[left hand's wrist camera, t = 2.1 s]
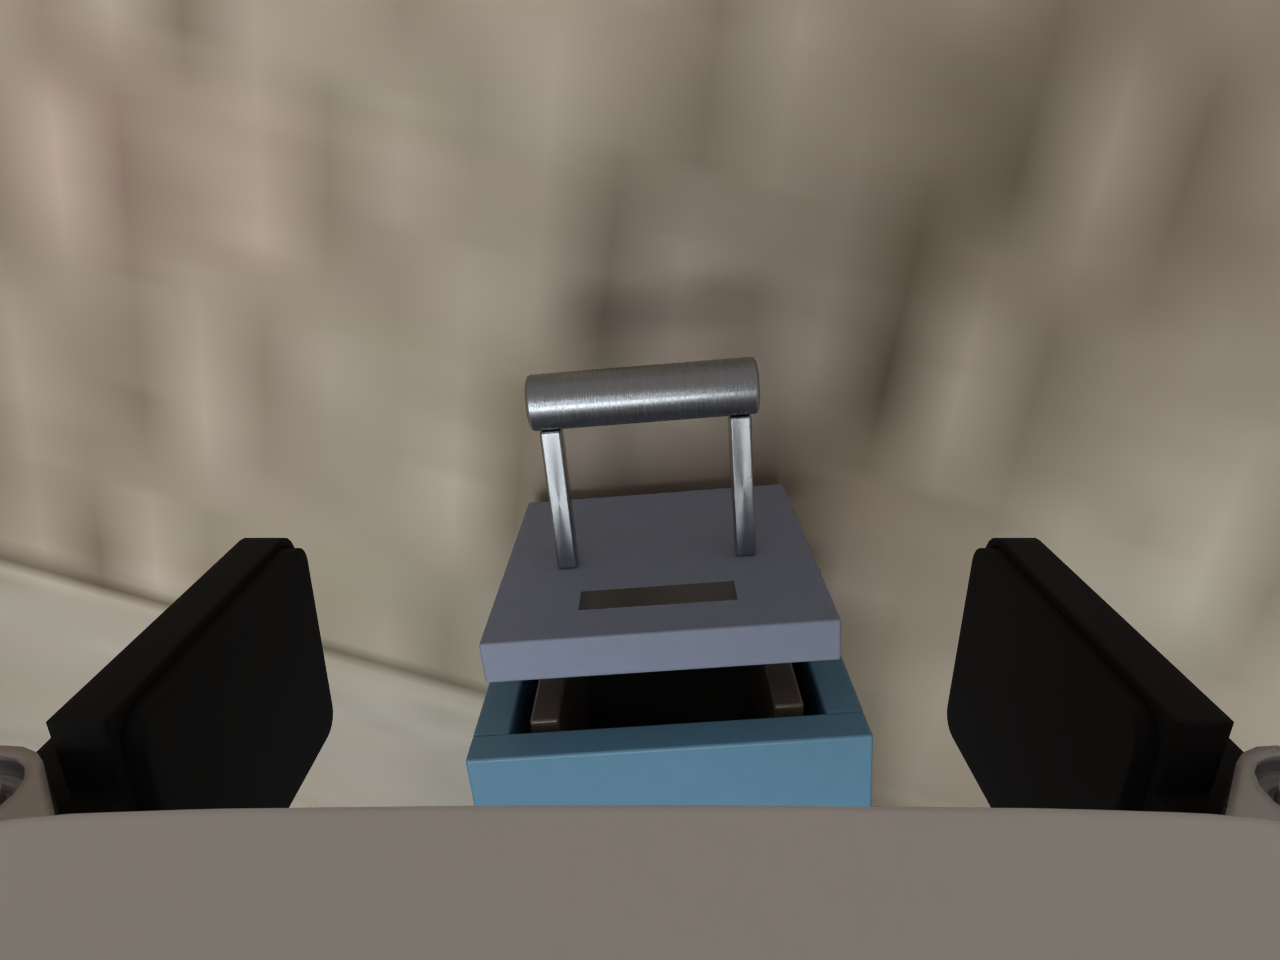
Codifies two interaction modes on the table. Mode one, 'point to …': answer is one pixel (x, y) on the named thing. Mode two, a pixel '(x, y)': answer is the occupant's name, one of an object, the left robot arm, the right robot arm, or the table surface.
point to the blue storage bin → (679, 754)
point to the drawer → (657, 571)
